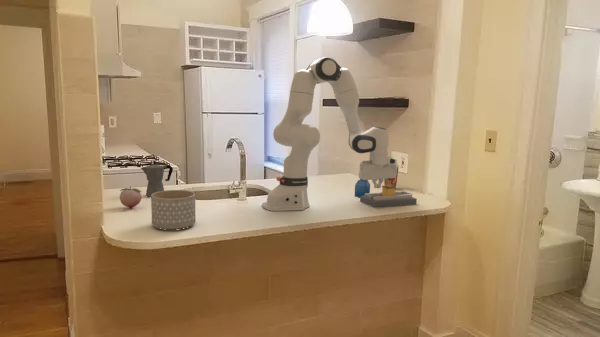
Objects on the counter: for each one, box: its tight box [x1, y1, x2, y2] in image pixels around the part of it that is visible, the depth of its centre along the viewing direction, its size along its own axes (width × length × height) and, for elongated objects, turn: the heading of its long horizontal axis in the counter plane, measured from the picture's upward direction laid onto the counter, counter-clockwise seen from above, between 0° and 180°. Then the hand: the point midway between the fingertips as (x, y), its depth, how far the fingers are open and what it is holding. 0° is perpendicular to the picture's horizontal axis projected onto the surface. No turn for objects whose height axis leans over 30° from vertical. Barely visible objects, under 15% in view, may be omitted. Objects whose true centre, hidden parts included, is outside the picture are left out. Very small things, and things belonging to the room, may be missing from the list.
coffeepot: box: [140, 160, 174, 198], centre depth 224 cm, size 15×9×18 cm, turn 116°
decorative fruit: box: [119, 185, 142, 209], centre depth 198 cm, size 9×8×10 cm
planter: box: [150, 189, 197, 231], centre depth 173 cm, size 16×16×13 cm
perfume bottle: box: [354, 178, 371, 198], centre depth 236 cm, size 6×6×12 cm
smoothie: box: [383, 154, 400, 188], centre depth 258 cm, size 8×8×20 cm
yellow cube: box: [381, 185, 397, 196], centre depth 221 cm, size 4×5×5 cm
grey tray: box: [359, 190, 417, 209], centre depth 222 cm, size 24×14×5 cm, turn 114°
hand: (377, 187), depth 219 cm, fingers closed
